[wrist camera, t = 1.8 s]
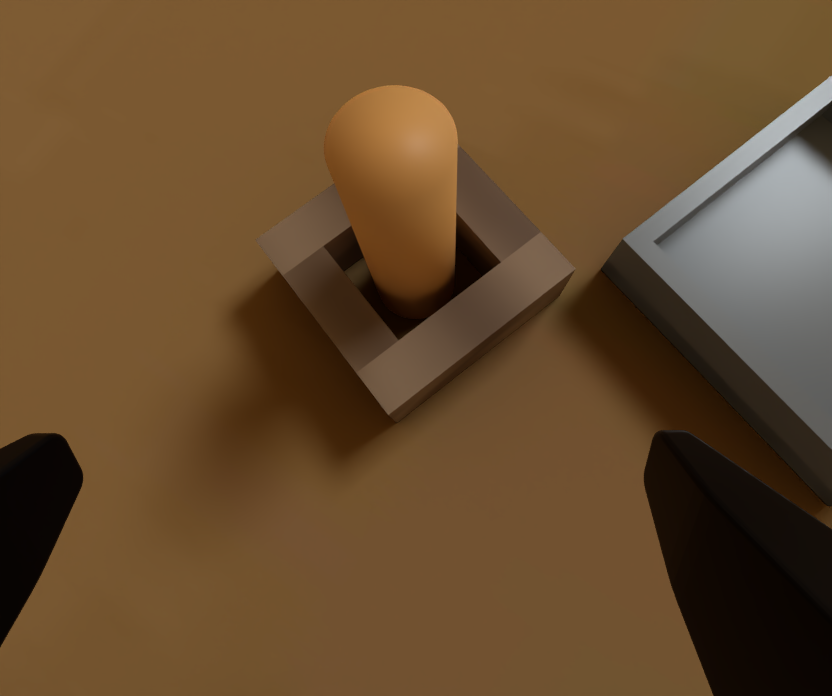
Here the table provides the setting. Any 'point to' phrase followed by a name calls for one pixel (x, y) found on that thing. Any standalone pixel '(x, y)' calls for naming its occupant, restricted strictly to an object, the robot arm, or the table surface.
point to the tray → (753, 282)
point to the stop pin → (399, 192)
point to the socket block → (452, 324)
